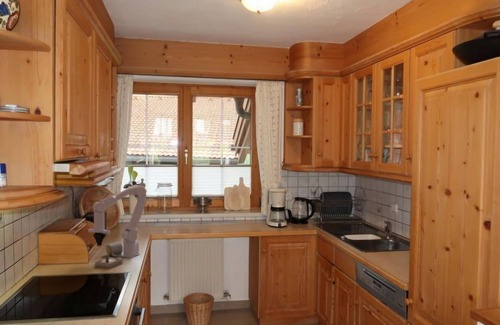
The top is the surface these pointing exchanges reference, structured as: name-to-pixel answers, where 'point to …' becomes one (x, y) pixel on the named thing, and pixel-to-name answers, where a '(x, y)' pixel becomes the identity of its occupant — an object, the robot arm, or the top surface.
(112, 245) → the ceramic mug
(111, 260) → the dial
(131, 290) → the top surface
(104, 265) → the dial plate
